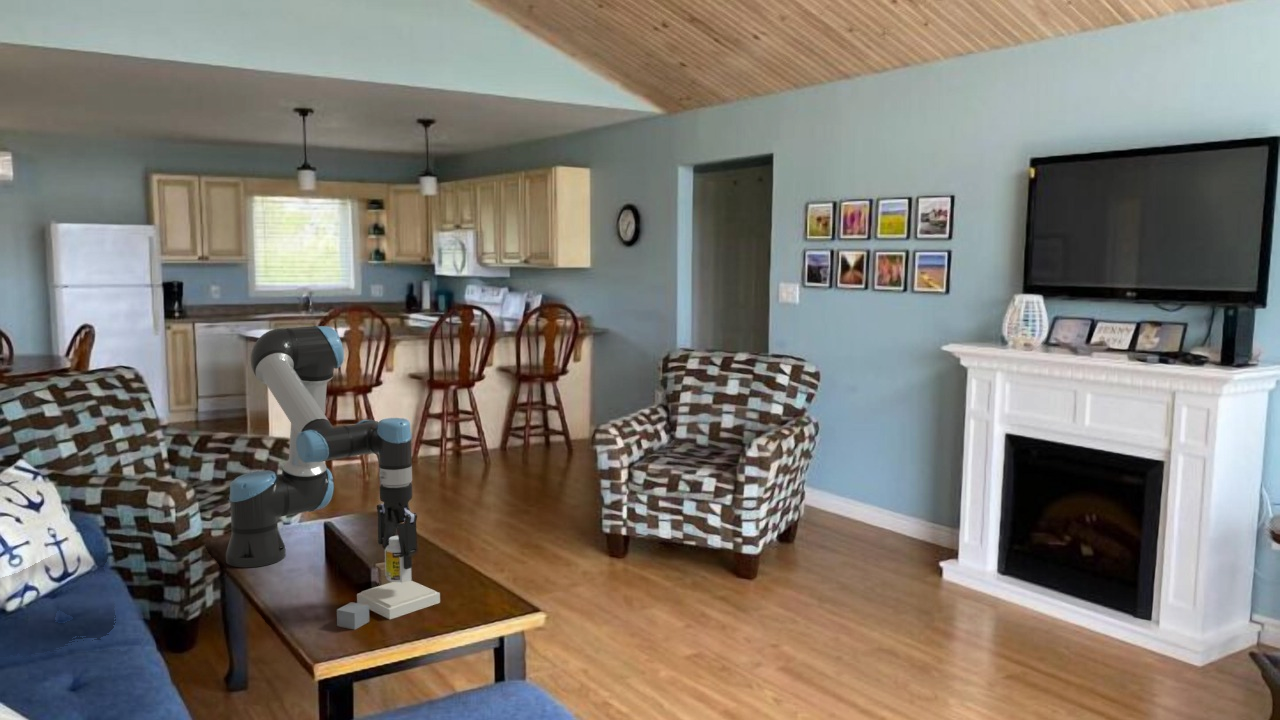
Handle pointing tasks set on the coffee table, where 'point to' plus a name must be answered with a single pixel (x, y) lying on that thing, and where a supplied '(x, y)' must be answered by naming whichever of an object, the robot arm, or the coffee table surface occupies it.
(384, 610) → the podium
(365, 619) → the grey matte cube
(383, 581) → the walnut block
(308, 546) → the coffee table surface
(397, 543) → the supplement bottle
